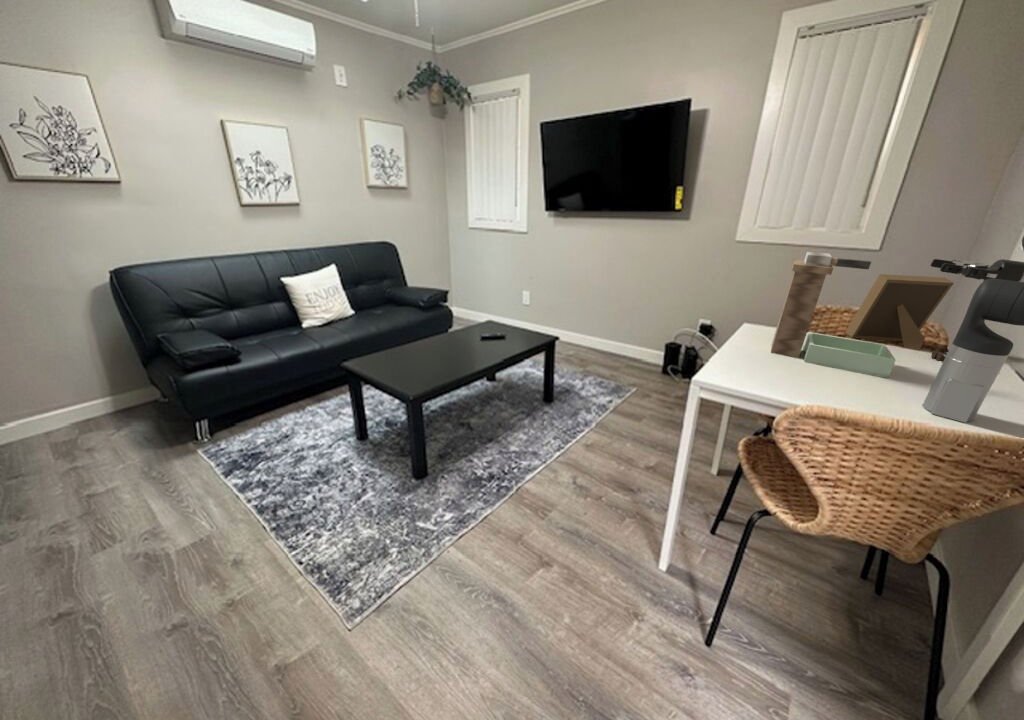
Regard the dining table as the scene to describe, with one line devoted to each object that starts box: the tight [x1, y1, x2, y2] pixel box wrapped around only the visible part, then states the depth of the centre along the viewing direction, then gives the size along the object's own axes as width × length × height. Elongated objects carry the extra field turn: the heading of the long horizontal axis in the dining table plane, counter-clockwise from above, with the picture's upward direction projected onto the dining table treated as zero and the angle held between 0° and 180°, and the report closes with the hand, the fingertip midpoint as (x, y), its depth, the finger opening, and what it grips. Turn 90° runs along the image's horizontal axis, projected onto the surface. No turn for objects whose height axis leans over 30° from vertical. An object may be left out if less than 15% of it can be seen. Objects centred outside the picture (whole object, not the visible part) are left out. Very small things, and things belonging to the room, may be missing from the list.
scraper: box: [804, 251, 872, 270], centre depth 125 cm, size 16×10×3 cm, turn 57°
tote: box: [802, 331, 896, 379], centre depth 131 cm, size 21×16×6 cm
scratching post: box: [770, 258, 834, 359], centre depth 134 cm, size 10×14×30 cm
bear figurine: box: [930, 347, 949, 362], centre depth 136 cm, size 18×4×14 cm
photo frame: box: [845, 273, 955, 351], centre depth 148 cm, size 15×22×25 cm
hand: (936, 264), depth 114 cm, fingers open, 8 cm apart
